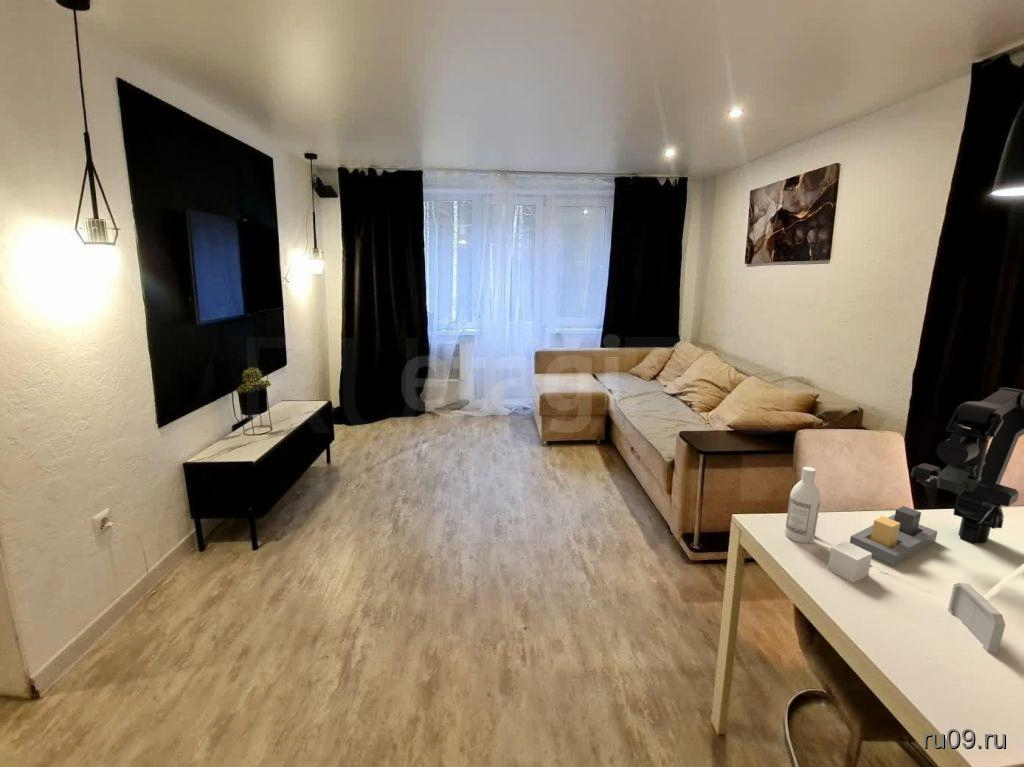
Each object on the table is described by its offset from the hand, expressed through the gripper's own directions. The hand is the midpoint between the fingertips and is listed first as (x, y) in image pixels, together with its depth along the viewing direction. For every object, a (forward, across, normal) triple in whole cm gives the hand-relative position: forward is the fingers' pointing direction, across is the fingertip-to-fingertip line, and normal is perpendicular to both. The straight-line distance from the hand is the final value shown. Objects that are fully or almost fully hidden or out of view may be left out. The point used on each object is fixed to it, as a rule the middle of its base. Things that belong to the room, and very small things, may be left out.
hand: (954, 515), depth 122 cm
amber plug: (+11, -9, -12) cm, 18 cm away
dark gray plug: (+11, -9, 0) cm, 14 cm away
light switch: (+12, +14, -26) cm, 32 cm away
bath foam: (+12, -24, -22) cm, 35 cm away
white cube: (+12, -9, -27) cm, 31 cm away
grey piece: (+12, -9, -6) cm, 16 cm away
